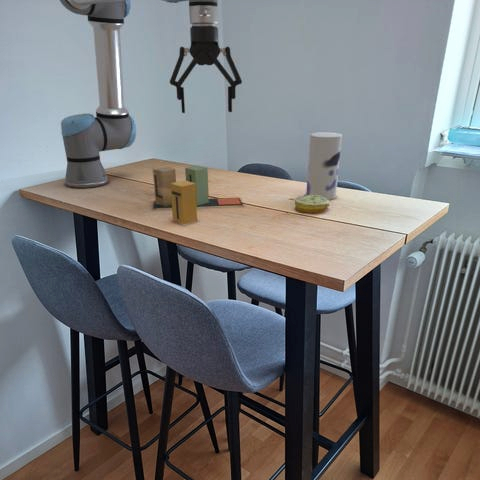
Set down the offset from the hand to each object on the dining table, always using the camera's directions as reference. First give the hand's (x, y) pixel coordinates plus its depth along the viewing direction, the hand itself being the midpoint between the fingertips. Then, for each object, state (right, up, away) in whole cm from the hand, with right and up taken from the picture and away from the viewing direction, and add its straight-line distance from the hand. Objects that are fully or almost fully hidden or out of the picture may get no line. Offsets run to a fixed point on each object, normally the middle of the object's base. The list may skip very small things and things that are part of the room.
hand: (206, 112), depth 136 cm
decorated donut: (+32, -26, +11) cm, 43 cm away
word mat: (-4, -23, +15) cm, 28 cm away
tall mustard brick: (-6, -32, 0) cm, 32 cm away
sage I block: (-4, -23, +15) cm, 27 cm away
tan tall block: (-14, -23, +14) cm, 30 cm away
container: (+37, -19, +23) cm, 48 cm away
